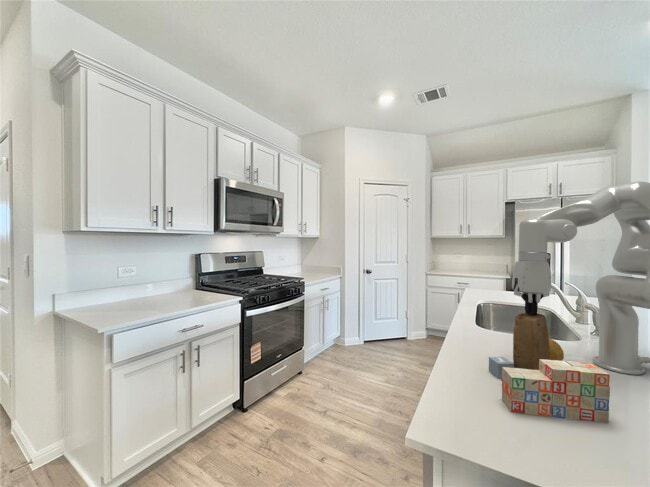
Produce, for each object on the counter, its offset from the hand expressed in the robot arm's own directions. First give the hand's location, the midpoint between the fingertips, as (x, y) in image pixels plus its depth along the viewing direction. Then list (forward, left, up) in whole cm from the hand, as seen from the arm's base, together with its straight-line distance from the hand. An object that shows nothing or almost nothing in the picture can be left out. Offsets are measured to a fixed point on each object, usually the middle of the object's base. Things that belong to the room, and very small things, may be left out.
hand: (531, 314), depth 93 cm
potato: (-11, -11, -20) cm, 26 cm away
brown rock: (0, 0, -20) cm, 20 cm away
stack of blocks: (+8, +19, -20) cm, 29 cm away
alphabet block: (+10, 0, -20) cm, 22 cm away
